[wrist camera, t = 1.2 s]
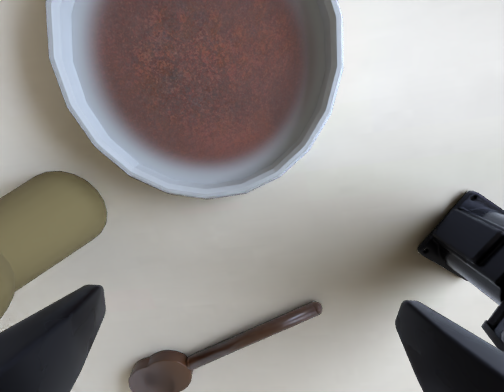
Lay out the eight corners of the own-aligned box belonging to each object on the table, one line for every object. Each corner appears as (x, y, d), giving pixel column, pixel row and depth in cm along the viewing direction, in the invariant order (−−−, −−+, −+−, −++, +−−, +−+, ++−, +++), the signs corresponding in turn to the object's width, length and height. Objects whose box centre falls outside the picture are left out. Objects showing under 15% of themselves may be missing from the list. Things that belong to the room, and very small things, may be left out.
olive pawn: (115, 189, 20) (-16, 289, 9) (96, 254, 22) (-33, 397, 11) (29, 157, 19) (-227, 230, 8) (16, 228, 20) (-208, 360, 10)
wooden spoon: (310, 283, 24) (313, 292, 23) (328, 317, 25) (332, 327, 24) (123, 367, 26) (117, 379, 25) (150, 394, 28) (146, 407, 26)
